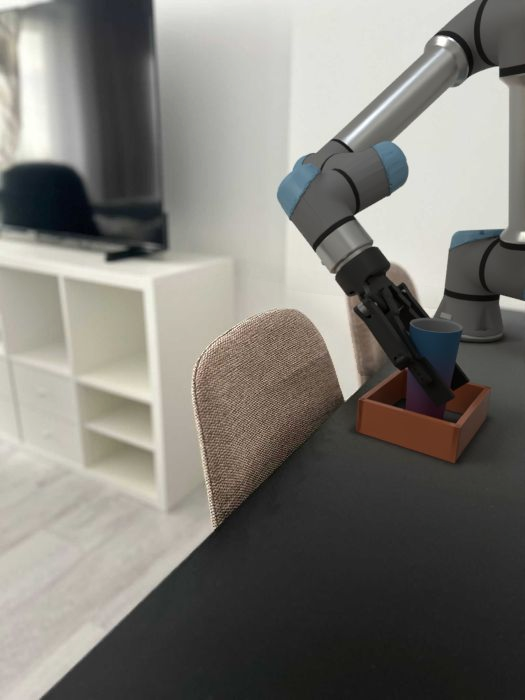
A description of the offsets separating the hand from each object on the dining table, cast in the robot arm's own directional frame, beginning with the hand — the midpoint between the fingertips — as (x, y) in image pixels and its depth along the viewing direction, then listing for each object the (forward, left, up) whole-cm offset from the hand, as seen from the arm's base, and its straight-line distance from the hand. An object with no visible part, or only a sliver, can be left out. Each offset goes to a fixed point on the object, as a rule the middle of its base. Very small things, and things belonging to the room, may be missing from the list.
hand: (453, 393), depth 70 cm
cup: (0, -4, -6) cm, 7 cm away
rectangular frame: (0, -4, -6) cm, 7 cm away
